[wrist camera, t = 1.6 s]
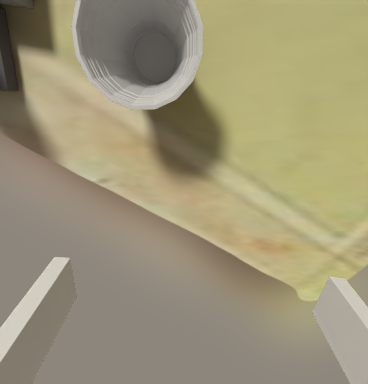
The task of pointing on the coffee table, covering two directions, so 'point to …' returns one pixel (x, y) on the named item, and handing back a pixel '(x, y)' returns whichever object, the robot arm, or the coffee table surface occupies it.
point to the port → (18, 3)
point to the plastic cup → (138, 48)
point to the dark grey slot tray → (6, 57)
